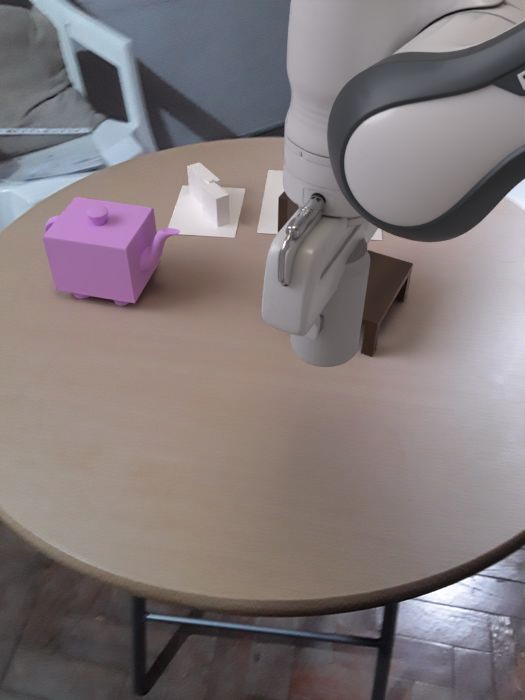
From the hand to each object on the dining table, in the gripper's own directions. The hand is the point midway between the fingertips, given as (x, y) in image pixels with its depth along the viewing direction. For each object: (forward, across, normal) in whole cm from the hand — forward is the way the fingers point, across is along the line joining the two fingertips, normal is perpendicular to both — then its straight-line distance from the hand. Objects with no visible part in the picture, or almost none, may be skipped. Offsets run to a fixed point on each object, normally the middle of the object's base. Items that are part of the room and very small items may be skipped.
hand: (327, 306), depth 61 cm
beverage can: (+5, 0, 0) cm, 5 cm away
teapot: (+24, +16, +38) cm, 48 cm away
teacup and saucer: (+24, +50, +21) cm, 59 cm away
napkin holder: (+24, +39, +37) cm, 59 cm away
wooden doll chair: (+23, +26, +7) cm, 36 cm away
